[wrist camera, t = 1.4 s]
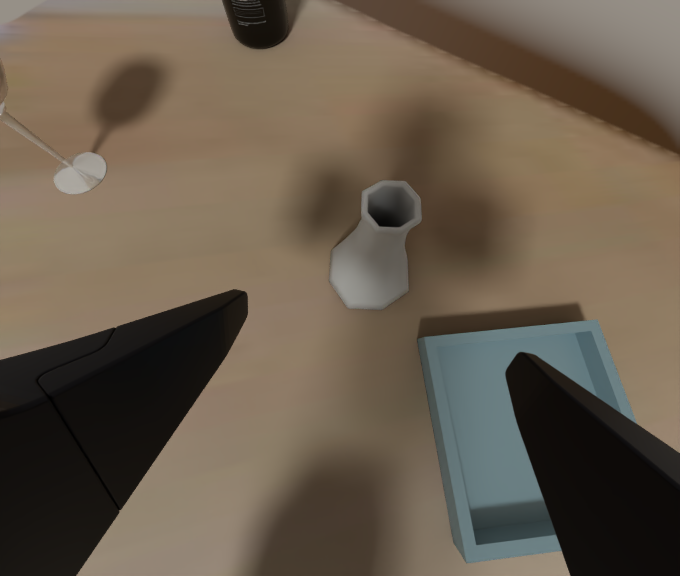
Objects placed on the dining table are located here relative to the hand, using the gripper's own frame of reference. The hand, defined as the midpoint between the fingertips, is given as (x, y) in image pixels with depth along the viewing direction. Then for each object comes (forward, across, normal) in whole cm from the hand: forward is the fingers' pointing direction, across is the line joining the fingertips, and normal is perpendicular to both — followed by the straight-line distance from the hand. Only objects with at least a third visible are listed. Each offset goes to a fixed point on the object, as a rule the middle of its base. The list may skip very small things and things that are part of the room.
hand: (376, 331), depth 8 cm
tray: (+7, -14, +11) cm, 19 cm away
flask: (+14, 0, +4) cm, 15 cm away
